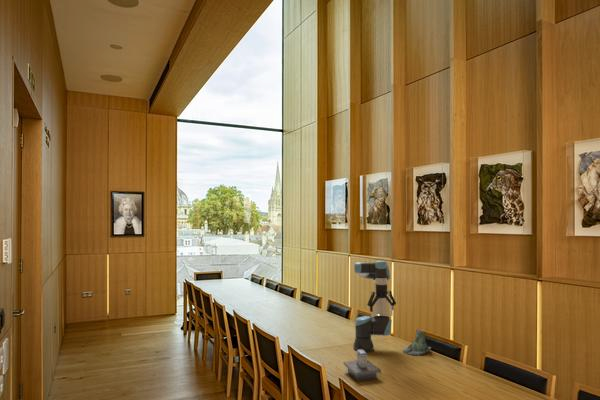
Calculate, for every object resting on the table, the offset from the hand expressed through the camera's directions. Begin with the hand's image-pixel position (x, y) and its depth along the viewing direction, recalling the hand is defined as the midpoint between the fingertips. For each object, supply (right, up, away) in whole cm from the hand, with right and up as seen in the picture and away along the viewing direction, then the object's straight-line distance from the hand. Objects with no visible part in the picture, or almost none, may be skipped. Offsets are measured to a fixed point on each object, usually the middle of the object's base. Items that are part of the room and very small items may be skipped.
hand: (381, 316), depth 281 cm
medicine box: (-17, -25, -22) cm, 37 cm away
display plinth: (-17, -31, -22) cm, 41 cm away
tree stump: (+30, -33, +25) cm, 51 cm away
